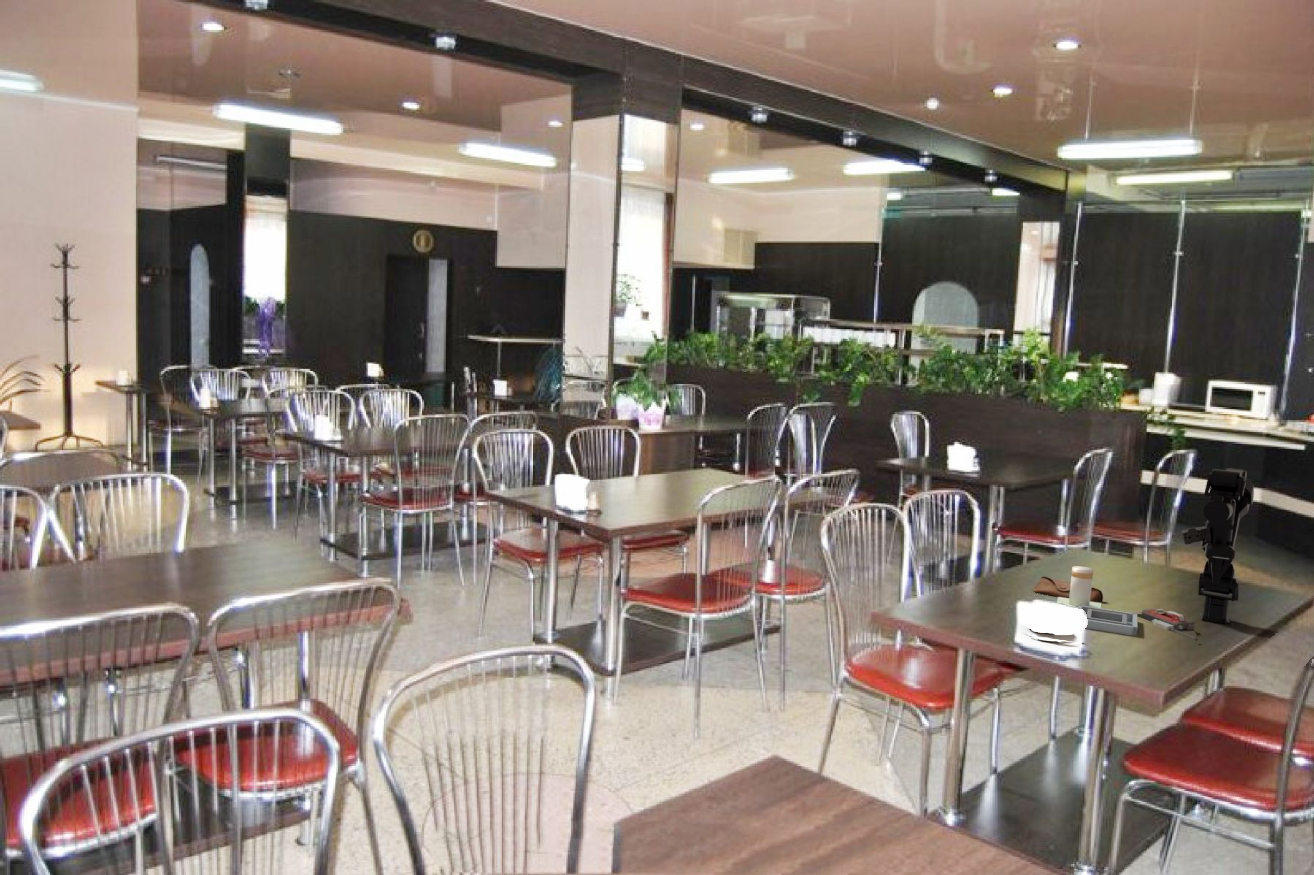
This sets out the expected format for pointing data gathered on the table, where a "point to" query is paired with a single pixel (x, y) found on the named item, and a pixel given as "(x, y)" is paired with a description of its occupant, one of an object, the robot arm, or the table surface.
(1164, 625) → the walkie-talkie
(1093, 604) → the mat
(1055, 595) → the sunglasses case
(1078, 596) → the white banded cylinder
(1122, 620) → the grey square tray
